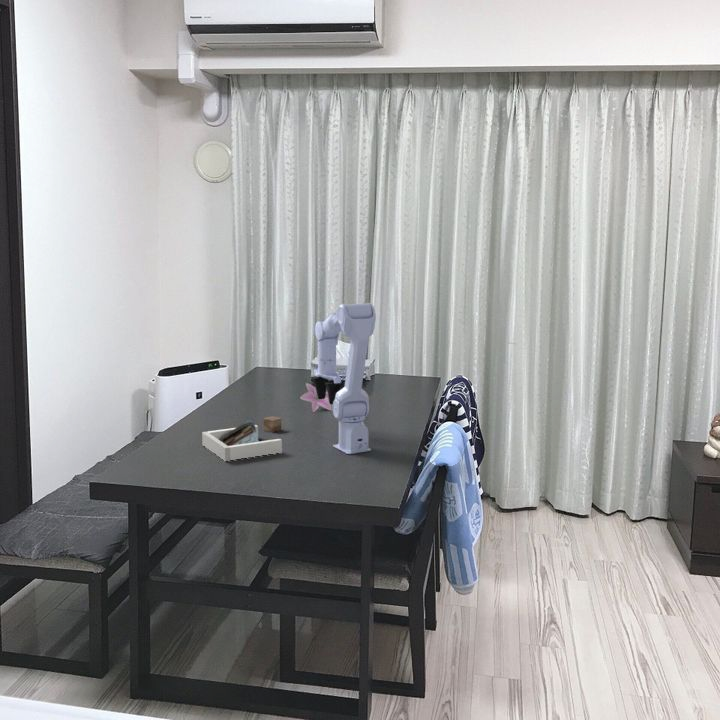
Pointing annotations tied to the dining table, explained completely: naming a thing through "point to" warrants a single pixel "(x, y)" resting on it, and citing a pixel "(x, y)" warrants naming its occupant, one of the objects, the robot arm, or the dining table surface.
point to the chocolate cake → (241, 434)
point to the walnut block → (272, 424)
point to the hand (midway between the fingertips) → (327, 401)
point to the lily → (316, 398)
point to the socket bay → (239, 446)
